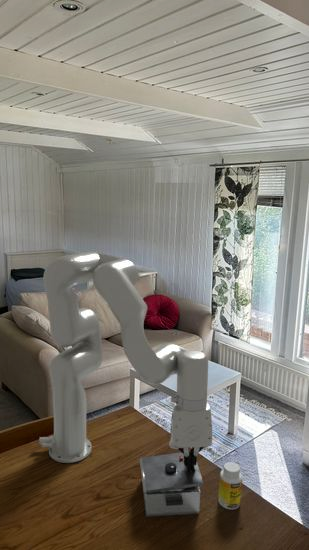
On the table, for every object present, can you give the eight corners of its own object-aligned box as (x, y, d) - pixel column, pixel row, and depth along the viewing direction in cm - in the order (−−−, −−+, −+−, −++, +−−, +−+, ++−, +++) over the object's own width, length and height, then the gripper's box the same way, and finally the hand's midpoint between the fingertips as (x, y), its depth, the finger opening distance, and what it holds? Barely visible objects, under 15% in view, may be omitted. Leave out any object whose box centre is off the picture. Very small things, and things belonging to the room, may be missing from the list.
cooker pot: (147, 521, 98) (147, 499, 97) (141, 476, 114) (142, 457, 113) (200, 518, 99) (201, 496, 98) (187, 474, 115) (188, 454, 114)
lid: (143, 493, 98) (143, 488, 98) (139, 460, 111) (139, 455, 110) (203, 485, 100) (203, 479, 99) (193, 453, 112) (192, 448, 112)
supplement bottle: (228, 514, 101) (231, 476, 99) (213, 500, 105) (215, 464, 104) (245, 505, 104) (247, 469, 102) (229, 492, 109) (232, 457, 107)
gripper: (163, 409, 98) (162, 479, 101) (225, 406, 99) (222, 475, 102) (159, 394, 105) (159, 460, 108) (217, 392, 107) (214, 456, 110)
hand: (189, 467), depth 105 cm, fingers closed
